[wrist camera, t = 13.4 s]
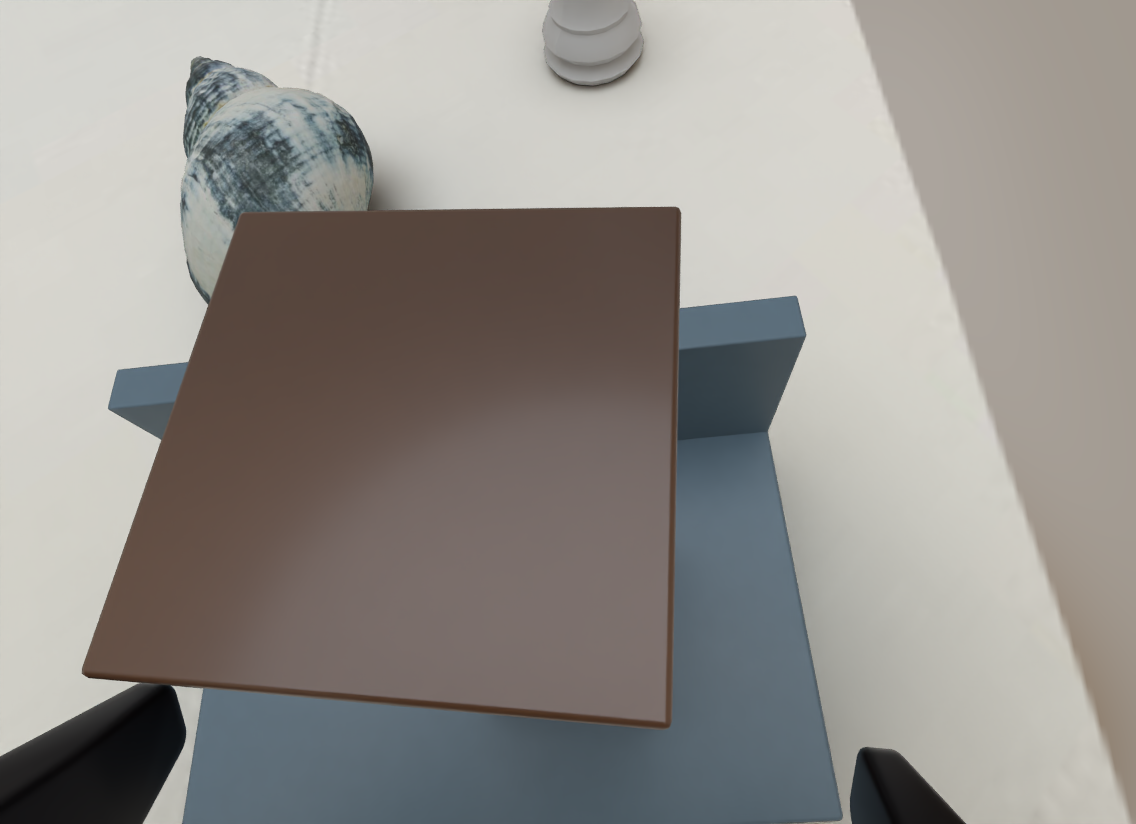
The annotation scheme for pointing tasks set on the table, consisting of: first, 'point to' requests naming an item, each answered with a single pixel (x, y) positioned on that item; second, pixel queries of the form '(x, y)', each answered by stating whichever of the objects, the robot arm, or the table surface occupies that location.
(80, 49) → the table surface
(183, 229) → the seashell
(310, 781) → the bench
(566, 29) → the rook chess piece
